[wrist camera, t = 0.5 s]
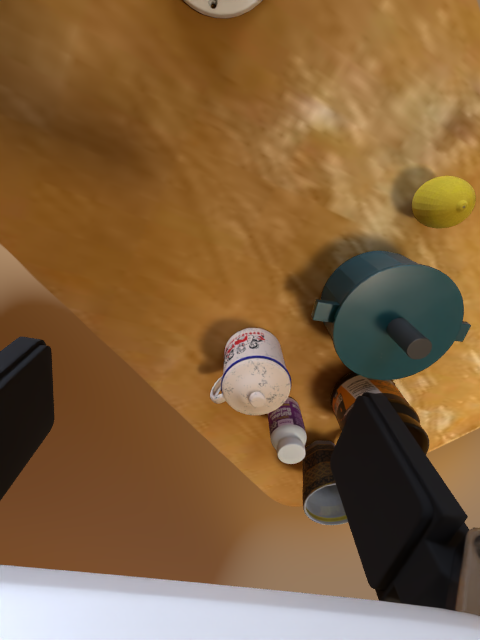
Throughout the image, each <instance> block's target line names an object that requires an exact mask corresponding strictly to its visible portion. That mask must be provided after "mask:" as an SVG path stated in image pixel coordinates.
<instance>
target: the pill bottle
mask: <svg viewBox="0 0 480 640" xmlns="http://www.w3.org/2000/svg"><path fill="white" fill-rule="evenodd" d="M268 421H269V429H270V438H271V443H272V445H273V447H274V448H275V449H276V450H277V454H278V458H279V459H280V461H282V462H283V463H286V464H295V463H298V462H300V461H302V460H303V459H304V457H305V454H306V452H305V446H304V445H305V444H306V440H307V436H306V431H305V427H304V423H303V419H302V416H301V412H300V408H299V405H298V403H297V402H296V401H295V400H294V399H292V398H289V397H288V398H287V399H286V401H285V402H284V403H283V404H282V405H281V406H280V407H279V408H278V409H276V410H274V411H272V412H270V413H268Z"/></svg>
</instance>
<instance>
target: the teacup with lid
mask: <svg viewBox="0 0 480 640" xmlns="http://www.w3.org/2000/svg"><path fill="white" fill-rule="evenodd" d="M220 390H221V391H222V393H221V394H220V395H218V393H219V391H220ZM290 390H291V378H290V375H289V372H288V371H287V369H286V366H285V362H284V358H283V354H282V350H281V346H280V343H279V342H278V340H277V338H276V337H275V336H274V335H273V334H271V333H270V332H268V331H266V330H263V329H259V328H247V329H244V330H241V331H239V332H237V333H236V334H234V335H233V336H232V337H231V338H230V339H229V340H228V342H227V344H226V347H225V352H224V370H223V376H222V377H220V378H219V379H218V380H217V381H216V383H215V384H214V386H213V387H212V390H211V393H210V398H211V400H212V401H213V402H214V403H223V402H225V401H226V402H227V403H228V404H229V405H230V406H231V407H232V408H233V409H235V410H237V411H238V412H241V413H244V414H248V415H263V414H267V413H270V412H272V411H274V410H276V409H278V408H279V407H280V406H281V405H282V404H283V403H284V402H285V401H286V399H287V398H288V396H289V393H290Z"/></svg>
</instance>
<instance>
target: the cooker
mask: <svg viewBox="0 0 480 640" xmlns="http://www.w3.org/2000/svg"><path fill="white" fill-rule="evenodd" d="M399 264H417V263H416V262H414V261H412V260H410V259H408V258H406V257H404V256H402V255H401V254H397V253H392V252H388V251H371V252H366V253H363V254H360V255H357V256H355V257H353V258H351V259H349V260H347V261H346V262H345V263H343V264H342V265H341V266H339V267H338V268H337V269H336V270H335V271H334V273H333V274H332V275H331V276H330V278H329V279H328V281H327V282H326V284H325V286H324V289H323V292H322V295H321V300H319V299H316V301H315V304H314V308H313V311H312V315H311V318H312V320H316V321H323V323H324V325H325V326H326V328H327V330H328V332H329V333H330V335H331V337H332V326H333V321H334V317H335V314H336V312H337V309H338V307H339V306H340V304H341V302H342V300H343V299H344V298H345V296H346V295H347V294H348V293H349V291H350V290H351V289H352V288H353V287H354V286H355V285H357V284H358V283H359V282H360V281H361V280H363V279H364V278H366V277H367V276H369V275H371V274H372V273H374V272H376V271H379V270H381V269H383V268H386V267H390V266H393V265H399ZM470 327H471V325H470V324H468V323H467V322H463V321H462V325H461V328H460V331H459V333H458V335H457V337H456V339H455V341H461V342H463V340H464V338H465V336H466V334H467V332H468V330H469V329H470Z"/></svg>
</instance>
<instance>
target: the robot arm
mask: <svg viewBox="0 0 480 640" xmlns="http://www.w3.org/2000/svg"><path fill="white" fill-rule="evenodd" d="M183 1H184V2H185V3H187V4H188V5H189V6H190V7H191V8H193V9H194V10H196V11H198V12H200V13H202V14H203V15H207V16H210V17H214V18H231V17H236V16H240V15H242V14H244V13H246V12H248V11H250V10H252V9H253V8H254V7H255V6H257V5H258V4H259V3H260V2H262V0H183ZM212 4H215V5H216V8H215V9H212V8H211V5H212ZM53 402H54V400H53V378H52V355H51V348H50V347H49V346H46V344H45V342H44V341H43V340H40V339H34V338H27V337H19V338H18V339H16V340H15V341H13V342H12V343H11V344H10V345H8V346H7V347H6V348H4V349H3V350H2V351H0V500H1V499H2V497H3V496H4V495H5V493H6V492H7V490H8V489H9V488H10V486H11V485H12V484H13V482H14V481H15V479H16V478H17V477H18V475H19V474H20V472H21V471H22V470H23V468H24V467H25V465H26V464H27V463H28V461H29V460H30V458H31V457H32V456H33V454H34V452H35V451H36V450H37V449H38V447H39V446H40V444H41V443H42V442H43V440H44V439H45V437H46V436H47V434H48V433H49V432H50V430H51V428H52V426H53V423H54V403H53ZM330 467H331V471H332V474H333V477H334V480H335V483H336V486H337V489H338V492H339V495H340V498H341V501H342V504H343V507H344V510H345V513H346V516H347V520H348V523H349V526H350V529H351V532H352V535H353V538H354V540H355V544H356V547H357V550H358V553H359V556H360V559H361V562H362V565H363V568H364V571H365V574H366V577H367V580H368V583H369V585H370V586H371V587H372V588H373V589H375V590H376V593H377V596H378V599H379V601H376V600H367V599H357V598H347V597H338V596H327V595H317V594H307V593H298V592H288V591H278V590H268V589H258V588H247V587H236V586H226V585H216V584H206V583H195V582H184V581H174V580H163V579H152V578H142V577H130V576H120V575H109V574H98V573H86V572H75V571H64V570H52V569H41V568H29V567H18V566H7V565H0V640H480V528H473V529H471V530H469V529H468V527H467V526H466V524H465V523H464V521H465V520H466V519H467V515H466V514H465V512H464V511H463V509H462V508H461V506H460V505H459V503H458V502H457V501H456V499H455V497H454V496H453V495H452V493H451V491H450V490H449V489H448V487H447V486H446V484H445V483H444V481H443V480H442V478H441V477H440V475H439V474H438V472H437V471H436V469H435V468H434V467H433V465H432V464H431V462H430V461H429V459H428V458H427V457H426V455H425V453H424V452H423V450H422V449H421V447H420V446H419V444H418V443H417V442H416V440H415V439H414V437H413V436H412V434H411V433H410V431H409V430H408V428H407V427H406V425H405V424H404V422H403V421H402V419H401V418H400V417H399V415H398V414H397V412H396V411H395V409H394V408H393V406H392V405H391V403H390V402H389V400H388V399H387V397H386V396H385V395H382V394H376V393H370V392H364V393H363V394H362V396H358V397H357V398H356V400H355V402H354V404H353V407H352V409H351V411H350V414H349V416H348V418H347V421H346V423H345V425H344V427H343V430H342V432H341V434H340V437H339V439H338V441H337V444H336V446H335V448H334V451H333V453H332V455H331V459H330Z"/></svg>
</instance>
